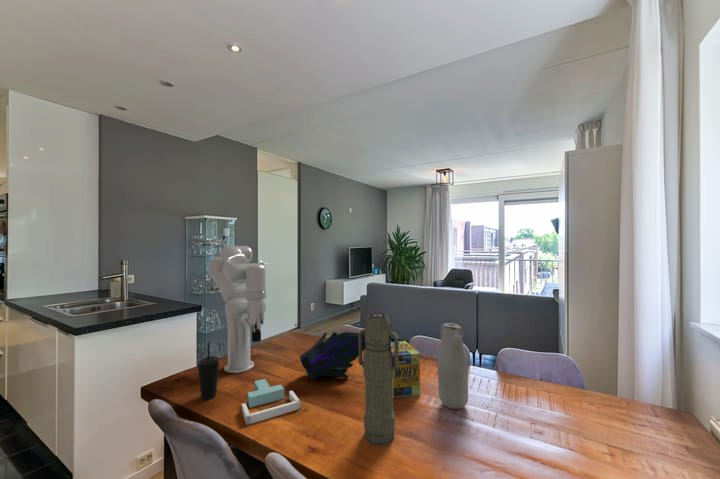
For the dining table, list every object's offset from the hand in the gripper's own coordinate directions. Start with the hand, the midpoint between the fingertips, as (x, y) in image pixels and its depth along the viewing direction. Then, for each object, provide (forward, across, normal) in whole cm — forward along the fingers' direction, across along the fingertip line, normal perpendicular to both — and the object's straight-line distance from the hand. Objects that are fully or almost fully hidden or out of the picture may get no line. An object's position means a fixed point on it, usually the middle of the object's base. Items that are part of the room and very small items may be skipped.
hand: (256, 340), depth 123 cm
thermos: (+17, +53, +24) cm, 61 cm away
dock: (+17, +23, 0) cm, 29 cm away
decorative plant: (+17, +9, +30) cm, 36 cm away
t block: (+17, +11, 0) cm, 21 cm away
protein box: (+17, +33, +46) cm, 60 cm away
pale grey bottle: (+17, +53, +54) cm, 78 cm away
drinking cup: (+17, +1, -18) cm, 25 cm away
